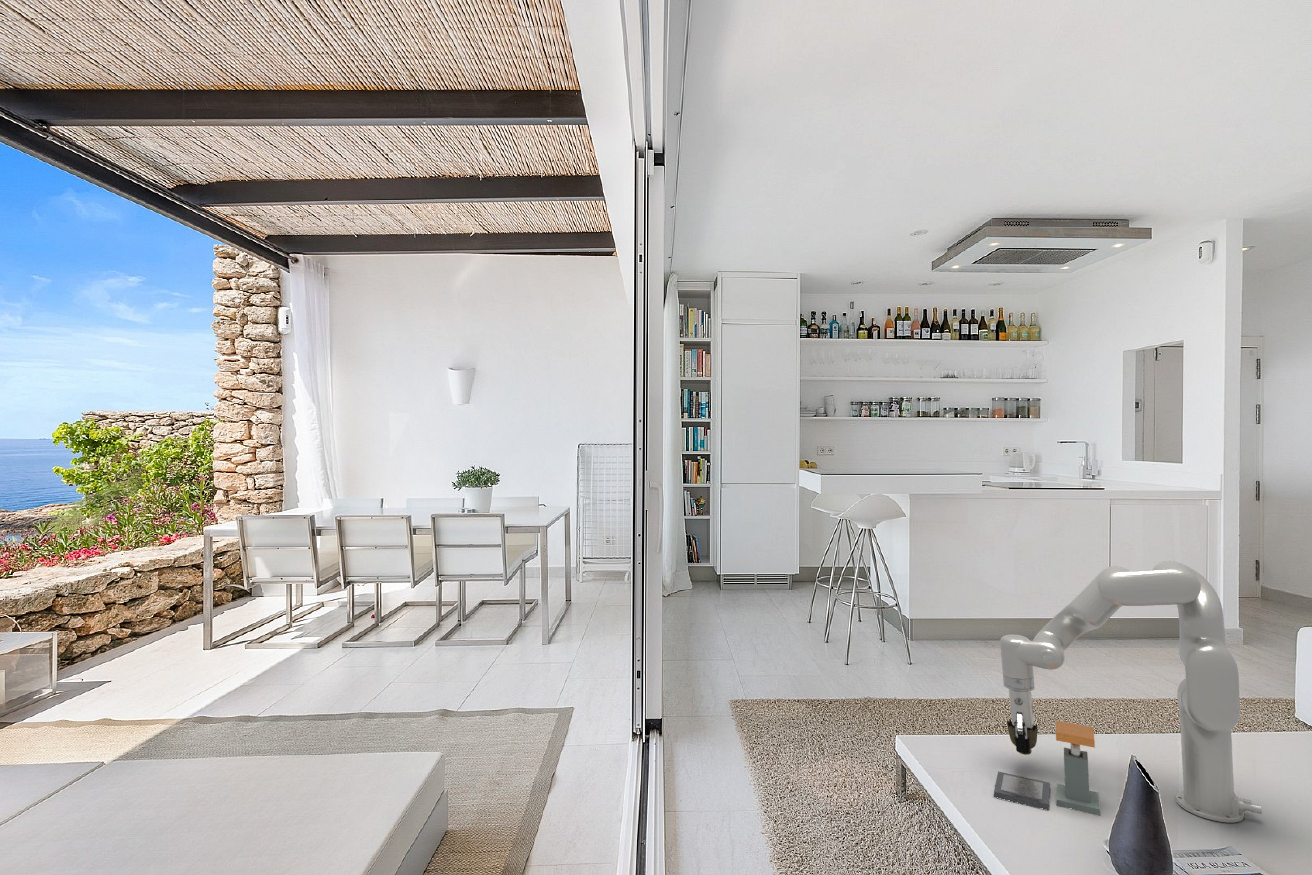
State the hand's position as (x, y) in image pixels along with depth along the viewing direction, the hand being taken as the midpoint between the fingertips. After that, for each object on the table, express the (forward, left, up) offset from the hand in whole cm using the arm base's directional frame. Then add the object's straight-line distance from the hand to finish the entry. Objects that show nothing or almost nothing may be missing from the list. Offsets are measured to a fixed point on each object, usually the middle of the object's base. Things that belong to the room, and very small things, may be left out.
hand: (1023, 746), depth 176 cm
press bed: (0, +13, -7) cm, 15 cm away
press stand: (-12, +11, -7) cm, 18 cm away
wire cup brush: (0, 0, -2) cm, 2 cm away
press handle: (-12, +11, -1) cm, 16 cm away
